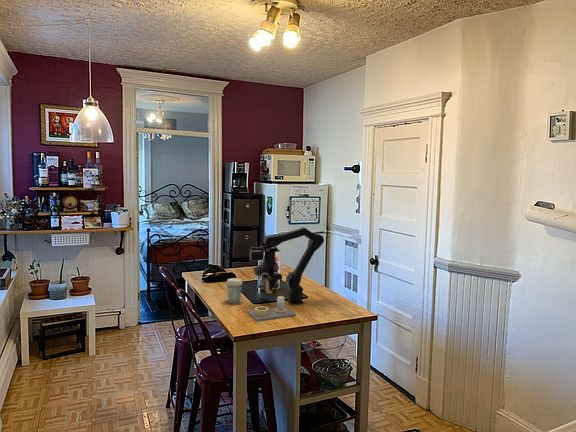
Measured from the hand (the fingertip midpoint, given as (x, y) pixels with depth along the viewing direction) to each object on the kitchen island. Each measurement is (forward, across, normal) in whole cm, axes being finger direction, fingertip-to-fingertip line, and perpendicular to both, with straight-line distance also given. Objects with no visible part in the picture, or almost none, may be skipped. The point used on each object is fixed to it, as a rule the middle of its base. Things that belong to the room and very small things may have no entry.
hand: (269, 289), depth 225 cm
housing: (+8, +16, -6) cm, 19 cm away
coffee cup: (+8, -9, -16) cm, 20 cm away
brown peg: (+2, 0, 0) cm, 2 cm away
